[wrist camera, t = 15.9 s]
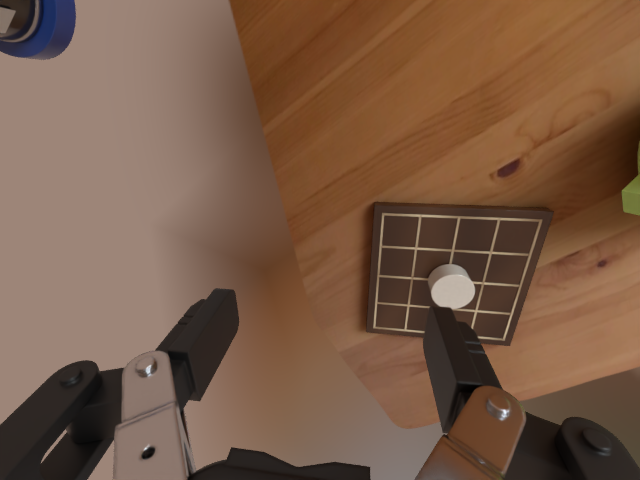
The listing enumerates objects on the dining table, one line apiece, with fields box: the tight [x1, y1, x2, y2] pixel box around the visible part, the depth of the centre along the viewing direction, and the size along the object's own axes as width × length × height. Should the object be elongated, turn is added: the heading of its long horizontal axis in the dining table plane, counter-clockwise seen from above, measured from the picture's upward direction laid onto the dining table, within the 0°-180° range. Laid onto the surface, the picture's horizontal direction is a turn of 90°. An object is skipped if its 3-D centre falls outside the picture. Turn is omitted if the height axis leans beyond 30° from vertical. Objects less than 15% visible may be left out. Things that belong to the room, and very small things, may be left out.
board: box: [366, 202, 554, 346], centre depth 37 cm, size 18×18×1 cm
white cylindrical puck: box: [428, 264, 475, 309], centre depth 35 cm, size 5×5×2 cm
